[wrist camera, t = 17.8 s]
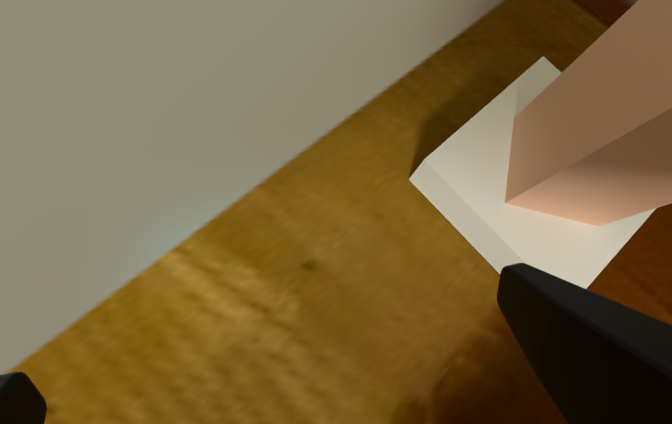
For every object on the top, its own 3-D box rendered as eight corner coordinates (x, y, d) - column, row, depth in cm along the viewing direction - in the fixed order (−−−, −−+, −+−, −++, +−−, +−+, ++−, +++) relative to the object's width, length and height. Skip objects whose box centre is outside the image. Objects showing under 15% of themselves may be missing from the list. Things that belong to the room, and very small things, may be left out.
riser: (634, 197, 24) (679, 181, 22) (533, 309, 22) (569, 307, 19) (515, 85, 26) (543, 56, 23) (408, 179, 23) (424, 159, 20)
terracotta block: (601, 140, 22) (1009, -104, 9) (598, 226, 20) (1072, 76, 8) (514, 117, 22) (808, -160, 9) (504, 203, 20) (835, 13, 8)
